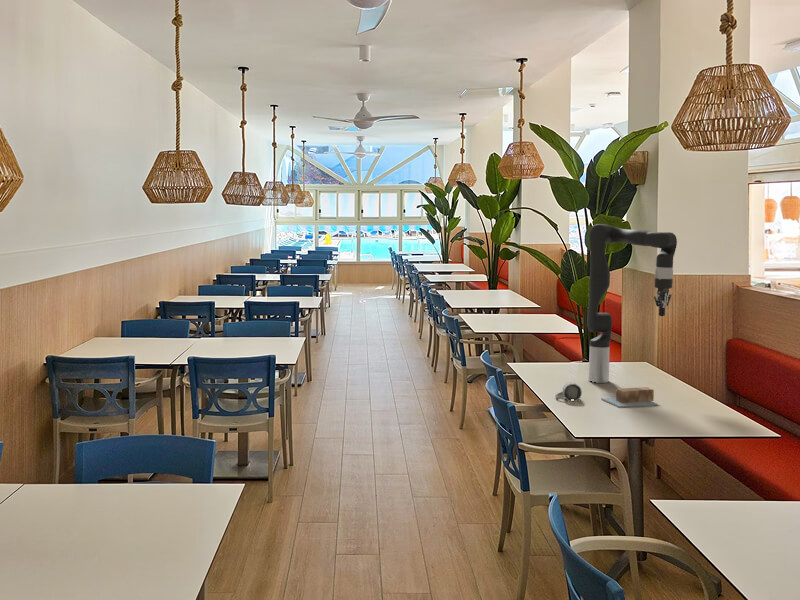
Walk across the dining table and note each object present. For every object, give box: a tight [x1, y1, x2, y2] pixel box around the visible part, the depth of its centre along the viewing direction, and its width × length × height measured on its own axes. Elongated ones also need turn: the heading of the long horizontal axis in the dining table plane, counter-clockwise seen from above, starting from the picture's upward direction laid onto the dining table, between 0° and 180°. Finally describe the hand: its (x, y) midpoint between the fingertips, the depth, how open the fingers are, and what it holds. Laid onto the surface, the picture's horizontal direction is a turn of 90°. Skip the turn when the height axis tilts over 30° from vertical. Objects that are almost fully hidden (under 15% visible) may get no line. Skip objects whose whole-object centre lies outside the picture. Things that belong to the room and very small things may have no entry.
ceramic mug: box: [554, 381, 583, 402], centre depth 311 cm, size 11×8×8 cm
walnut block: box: [615, 386, 655, 403], centre depth 307 cm, size 5×5×15 cm
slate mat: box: [600, 396, 658, 409], centre depth 307 cm, size 18×14×1 cm
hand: (661, 315), depth 322 cm, fingers closed
